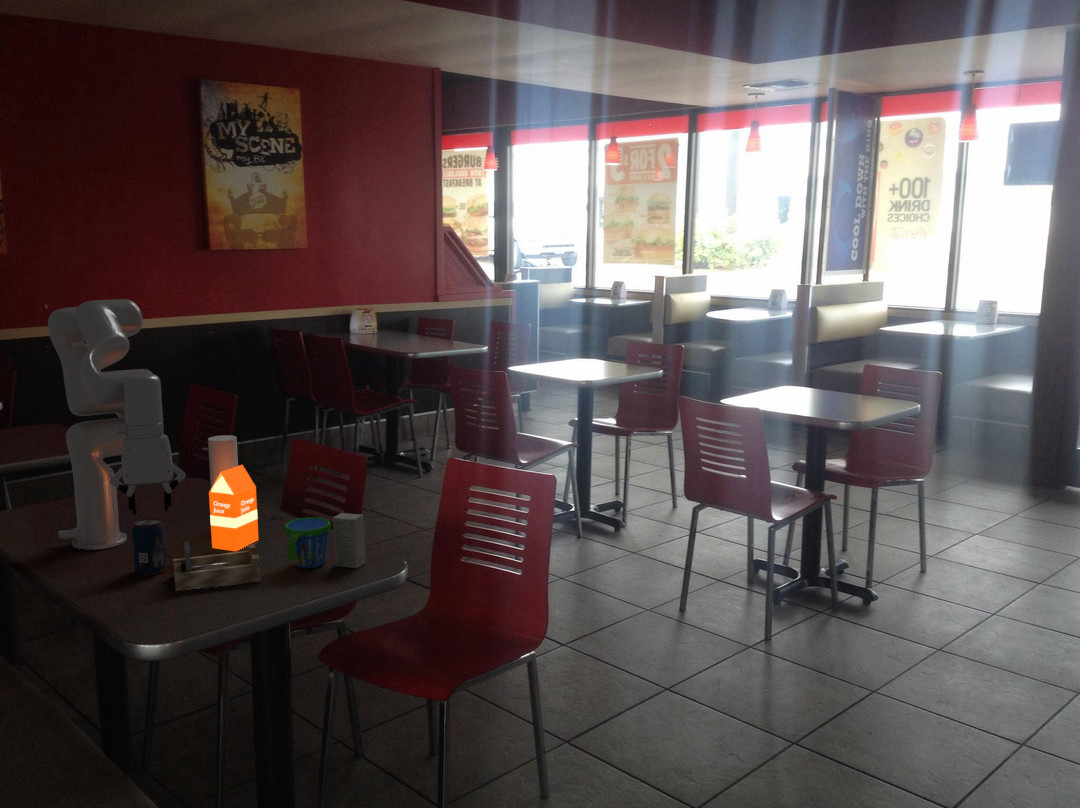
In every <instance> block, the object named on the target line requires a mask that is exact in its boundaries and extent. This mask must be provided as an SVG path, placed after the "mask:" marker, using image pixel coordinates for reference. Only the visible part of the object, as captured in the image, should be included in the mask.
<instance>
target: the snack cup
mask: <svg viewBox="0 0 1080 808" xmlns="http://www.w3.org/2000/svg"><path fill="white" fill-rule="evenodd" d="M331 528H332V523H331V521H330V520H328V519H327V518H324V517H317V516H316V517H314V516H312V517H310V516H307V517H299V518H294V519H293V520H292V519H291V520H289V521H288V522H287V523H285V525H284V527H283V529H284V530H283V531H284V532H285V534H286V535H287V539H288V540H287V541H288V545H287V552H286V553H287V554H286V557H287V559H288V560H289V561H291V562H292V563H293V566H295V567H297V568H299V569H314V568H315V569H316V568H319V567H321V566H322V565H324V563H326V559H327V552H328V543H329V538H330V536H329V533H330V530H331Z"/></svg>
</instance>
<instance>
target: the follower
mask: <svg viewBox="0 0 1080 808" xmlns="http://www.w3.org/2000/svg"><path fill="white" fill-rule="evenodd" d="M183 545H184V558H185V564H186V572H191V571H199V570H207V569H215V568H223V567H228V562H224V563H216V564H208V565H199V566H191V557H192V555H191V548H190V541H184V542H183Z"/></svg>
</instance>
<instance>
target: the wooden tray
mask: <svg viewBox="0 0 1080 808" xmlns="http://www.w3.org/2000/svg"><path fill="white" fill-rule="evenodd" d="M172 561H173V570H174V571H173V573H174V575H175V576H174V586H175V588H176V589H175V592H176V591H180V590H190V591H192V590H191V589H198V590H201V589H200V588H205V589H211V588H210V587H213V588H218V587H219V586H221V587H229V586H234V585H243V583H244V584H250V583H251V582H252V583H259V582H261V581H262V577H261V575H262V574H261V559H260V556H259V553H257V547H256V543H254V544H248V546H247V550H243V551H242V550H239V551H231V552H224V553H217V554H209V555H200V556H199V555H198V556H191V566H199V565H208V564H216V563H224V562H228V567H223V568H215V569H207V570H199V571H191V572H186V564H185V557H181V558H173V559H172ZM219 588H220V587H219Z"/></svg>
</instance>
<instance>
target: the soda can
mask: <svg viewBox="0 0 1080 808" xmlns="http://www.w3.org/2000/svg"><path fill="white" fill-rule="evenodd" d="M131 538H132V550H133V551H132V552H133V564H134V569H135V571H136V573H137V574H138V573H140V574H153V573H158V572H160V571H162V572H164V570H165V569H166V566H167V565H168V563H167V553H166V537H165V526H164V525H163V523H162V521H161V519H160V518H155V517H149V518H148V517H147V518H143V519H139V520H135V522H134V523H133V527H132V529H131ZM140 574H139V575H140ZM158 574H159V573H158Z"/></svg>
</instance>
